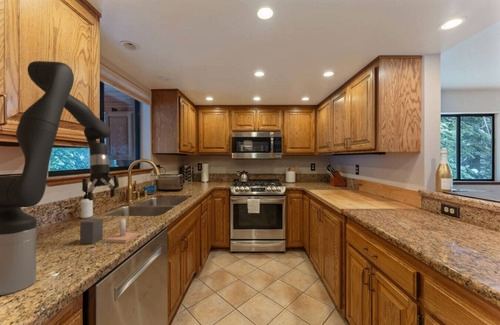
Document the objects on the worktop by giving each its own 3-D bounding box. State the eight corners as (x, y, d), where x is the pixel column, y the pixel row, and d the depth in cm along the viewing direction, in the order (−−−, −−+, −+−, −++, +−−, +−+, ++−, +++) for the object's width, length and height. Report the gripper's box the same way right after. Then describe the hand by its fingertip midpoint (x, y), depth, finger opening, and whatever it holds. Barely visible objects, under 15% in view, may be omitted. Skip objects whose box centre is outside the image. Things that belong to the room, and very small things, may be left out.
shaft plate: (125, 243, 98) (126, 222, 98) (105, 242, 99) (105, 222, 99) (138, 235, 108) (138, 217, 108) (119, 235, 109) (119, 216, 109)
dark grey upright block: (92, 244, 97) (92, 222, 97) (80, 243, 97) (80, 222, 97) (102, 239, 103) (102, 218, 103) (90, 239, 103) (90, 218, 103)
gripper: (78, 165, 96) (79, 201, 94) (113, 162, 100) (116, 196, 98) (86, 167, 103) (88, 201, 101) (119, 164, 107) (121, 196, 105)
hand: (101, 199), depth 99 cm, fingers open, 8 cm apart
